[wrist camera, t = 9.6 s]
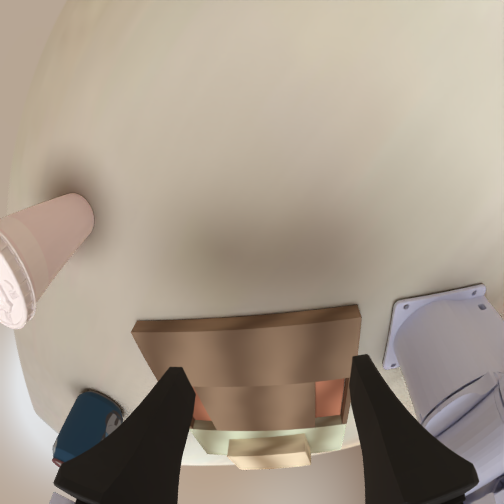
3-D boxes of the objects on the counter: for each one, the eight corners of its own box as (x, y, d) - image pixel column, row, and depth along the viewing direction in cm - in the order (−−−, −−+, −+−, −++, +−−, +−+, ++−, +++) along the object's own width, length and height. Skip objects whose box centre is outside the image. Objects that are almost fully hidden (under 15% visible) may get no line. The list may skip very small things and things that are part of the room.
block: (304, 433, 28) (305, 451, 25) (310, 448, 30) (311, 464, 27) (229, 439, 29) (226, 456, 27) (242, 454, 31) (240, 469, 29)
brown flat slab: (357, 304, 21) (361, 317, 19) (339, 440, 31) (340, 449, 30) (137, 320, 23) (130, 332, 22) (209, 445, 34) (207, 453, 32)
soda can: (74, 392, 32) (42, 456, 21) (93, 382, 29) (56, 458, 19) (111, 419, 34) (86, 483, 23) (134, 413, 31) (107, 488, 21)
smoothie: (65, 158, 17) (-96, 242, 4) (123, 213, 19) (-20, 355, 6) (38, 218, 19) (-80, 314, 7) (88, 268, 21) (-15, 395, 9)
